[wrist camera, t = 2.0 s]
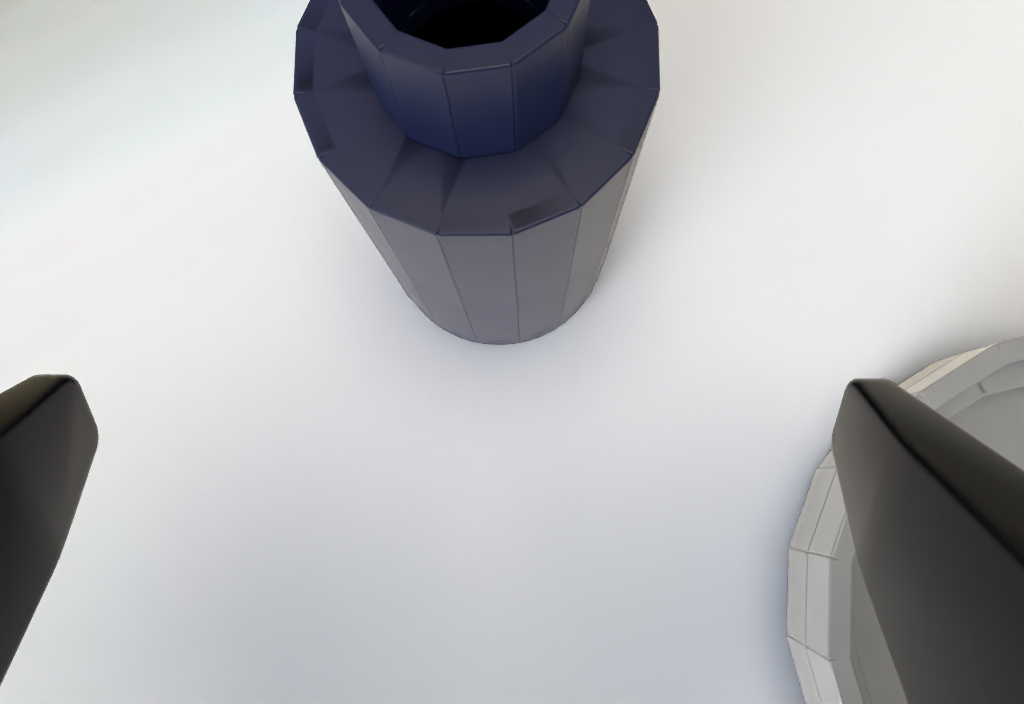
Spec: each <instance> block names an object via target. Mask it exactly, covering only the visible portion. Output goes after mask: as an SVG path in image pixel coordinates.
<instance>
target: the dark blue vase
mask: <svg viewBox="0 0 1024 704" xmlns="http://www.w3.org/2000/svg"><path fill="white" fill-rule="evenodd" d="M659 92H660V68H659V35H658V25H657V21H656V19H655V17H654V15H653V13H652V11H651V9H650V7H649V5H648V2H647V0H310V2H309V4H308V6H307V8H306V10H305V12H304V14H303V16H302V18H301V20H300V22H299V24H298V27H297V31H296V47H295V69H294V91H293V94H294V100H295V102H296V105H297V107H298V110H299V112H300V115H301V117H302V120H303V122H304V125H305V127H306V130H307V132H308V135H309V138H310V140H311V143H312V145H313V148H314V150H315V153H316V155H317V158H318V159H319V161H320V162H321V164H322V165H323V167H324V168H325V170H326V171H327V173H328V174H329V176H330V177H331V179H332V180H333V182H334V184H335V185H336V187H337V188H338V190H339V191H340V193H341V194H342V196H343V197H344V199H345V200H346V202H347V203H348V205H349V206H350V208H351V209H352V211H353V213H354V214H355V216H356V217H357V219H358V220H359V222H360V223H361V225H362V226H363V228H364V229H365V231H366V232H367V234H368V235H369V237H370V238H371V240H372V242H373V243H374V245H375V246H376V248H377V249H378V251H379V252H380V254H381V255H382V257H383V258H384V260H385V261H386V263H387V264H388V266H389V267H390V269H391V271H392V272H393V274H394V275H395V277H396V278H397V280H398V281H399V283H400V284H401V286H402V287H403V289H404V290H405V292H406V293H407V295H408V296H409V297H410V298H411V299H412V300H413V301H414V302H415V303H416V305H417V306H418V307H419V308H420V309H421V311H422V312H423V313H424V314H425V315H426V316H427V317H428V318H430V319H431V320H432V321H433V322H434V323H435V324H437V325H438V326H440V327H441V328H443V329H444V330H446V331H448V332H450V333H452V334H454V335H456V336H458V337H461V338H464V339H467V340H470V341H473V342H478V343H484V344H496V345H503V344H515V343H520V342H525V341H529V340H531V339H534V338H537V337H540V336H542V335H544V334H546V333H548V332H550V331H552V330H554V329H555V328H557V327H558V326H560V325H561V324H563V323H564V322H566V321H567V320H568V319H569V318H570V317H571V316H572V315H574V314H575V312H576V311H577V310H578V309H579V308H580V307H581V306H582V305H583V303H584V302H585V300H586V299H587V297H588V296H589V295H590V293H591V292H592V289H593V287H594V285H595V283H596V281H597V278H598V275H599V272H600V270H601V267H602V265H603V262H604V260H605V258H606V255H607V252H608V249H609V246H610V243H611V240H612V236H613V233H614V230H615V227H616V224H617V221H618V218H619V215H620V212H621V209H622V206H623V203H624V200H625V197H626V194H627V191H628V188H629V185H630V182H631V179H632V176H633V173H634V170H635V167H636V164H637V161H638V158H639V155H640V152H641V149H642V146H643V143H644V140H645V137H646V134H647V131H648V127H649V124H650V121H651V118H652V115H653V112H654V109H655V106H656V103H657V100H658V97H659Z"/></svg>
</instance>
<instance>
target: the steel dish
mask: <svg viewBox="0 0 1024 704" xmlns="http://www.w3.org/2000/svg"><path fill="white" fill-rule="evenodd" d="M898 386H900V387H901V388H903V389H904V390H906V391H907V392H909V393H910V394H912V395H913V396H915V397H916V398H917V399H919V400H920V401H922V402H923V403H925V404H926V405H928V406H929V407H931V408H932V409H934V410H935V411H937V412H938V413H940V414H941V415H943V416H944V417H946V418H947V419H949V420H950V421H952V422H953V423H955V424H956V425H958V426H959V427H961V428H962V429H963V430H965V431H966V432H968V433H969V434H971V435H972V436H974V437H975V438H977V439H978V440H980V441H981V442H983V443H984V444H986V445H987V446H989V447H990V448H992V449H993V450H995V451H996V452H998V453H999V454H1001V455H1002V456H1004V457H1005V458H1007V459H1008V460H1009V461H1011V462H1012V463H1014V464H1015V465H1017V466H1018V467H1020V468H1021V469H1023V470H1024V336H1023V337H1019V338H1014V339H1010V340H1006V341H1002V342H998V343H995V344H991V345H988V346H985V347H981V348H978V349H975V350H971V351H968V352H965V353H962V354H958V355H955V356H952V357H948V358H945V359H942V360H939V361H937V362H934V363H932V364H930V365H929V366H927V367H926V368H924V369H922V370H921V371H919V372H918V373H916V374H915V375H913V376H911V377H910V378H908V379H907V380H905V381H904V382H902V383H900V384H899V385H898ZM789 547H790V549H789V561H788V601H787V634H788V636H787V640H788V643H789V647H790V650H791V654H792V657H793V661H794V665H795V668H796V672H797V675H798V679H799V682H800V686H801V689H802V693H803V696H804V700H805V703H806V704H907V701H906V698H905V695H904V693H903V690H902V687H901V684H900V681H899V679H898V676H897V673H896V670H895V667H894V665H893V662H892V659H891V656H890V654H889V651H888V648H887V645H886V642H885V640H884V637H883V634H882V631H881V628H880V626H879V623H878V620H877V617H876V614H875V612H874V609H873V606H872V603H871V600H870V598H869V595H868V592H867V589H866V587H865V584H864V580H863V577H862V574H861V571H860V568H859V565H858V561H857V557H856V553H855V549H854V545H853V540H852V536H851V532H850V527H849V523H848V518H847V514H846V510H845V505H844V501H843V496H842V492H841V487H840V483H839V479H838V474H837V470H836V465H835V461H834V457H833V452H832V450H831V451H830V452H829V454H828V455H827V456H826V458H825V459H824V460H823V461H822V463H821V464H820V465H819V469H816V471H815V474H814V477H813V480H812V482H811V485H810V488H809V491H808V494H807V496H806V499H805V502H804V505H803V508H802V511H801V513H800V516H799V519H798V522H797V525H796V527H795V530H794V533H793V536H792V539H791V542H790V544H789Z"/></svg>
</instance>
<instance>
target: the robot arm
mask: <svg viewBox="0 0 1024 704" xmlns="http://www.w3.org/2000/svg"><path fill="white" fill-rule="evenodd" d="M97 446H98V429H97V425H96V423H95V420H94V418H93V415H92V413H91V411H90V408H89V406H88V403H87V401H86V398H85V396H84V394H83V391H82V389H81V386H80V384H79V383H78V381H77V380H76V379H75V378H74V377H72V376H70V375H51V374H42V375H35V376H32V377H30V378H28V379H26V380H25V381H23V382H21V383H19V384H17V385H15V386H14V387H12V388H10V389H8V390H6V391H4V392H3V393H1V394H0V685H1V683H2V681H3V679H4V677H5V675H6V672H7V670H8V668H9V666H10V664H11V662H12V660H13V657H14V655H15V653H16V651H17V649H18V647H19V645H20V643H21V640H22V638H23V636H24V634H25V632H26V630H27V628H28V625H29V623H30V621H31V619H32V617H33V615H34V613H35V610H36V608H37V606H38V604H39V602H40V600H41V598H42V595H43V593H44V591H45V589H46V587H47V585H48V583H49V580H50V578H51V576H52V574H53V571H54V569H55V567H56V565H57V562H58V560H59V558H60V555H61V552H62V550H63V547H64V544H65V542H66V539H67V536H68V533H69V530H70V527H71V524H72V521H73V518H74V515H75V512H76V509H77V506H78V503H79V500H80V497H81V494H82V491H83V488H84V485H85V482H86V479H87V476H88V473H89V470H90V467H91V465H92V462H93V459H94V456H95V453H96V450H97ZM832 452H833V457H834V461H835V465H836V470H837V474H838V479H839V483H840V487H841V492H842V496H843V501H844V505H845V510H846V514H847V518H848V523H849V527H850V532H851V536H852V540H853V545H854V549H855V553H856V557H857V561H858V565H859V568H860V571H861V574H862V577H863V580H864V584H865V587H866V589H867V592H868V595H869V598H870V600H871V603H872V606H873V609H874V612H875V614H876V617H877V620H878V623H879V626H880V628H881V631H882V634H883V637H884V640H885V642H886V645H887V648H888V651H889V654H890V656H891V659H892V662H893V665H894V667H895V670H896V673H897V676H898V679H899V681H900V684H901V687H902V690H903V693H904V695H905V698H906V701H907V704H1024V470H1023V469H1021V468H1020V467H1018V466H1017V465H1015V464H1014V463H1012V462H1011V461H1009V460H1008V459H1007V458H1005V457H1004V456H1002V455H1001V454H999V453H998V452H996V451H995V450H993V449H992V448H990V447H989V446H987V445H986V444H984V443H983V442H981V441H980V440H978V439H977V438H975V437H974V436H972V435H971V434H969V433H968V432H966V431H965V430H963V429H962V428H961V427H959V426H958V425H956V424H955V423H953V422H952V421H950V420H949V419H947V418H946V417H944V416H943V415H941V414H940V413H938V412H937V411H935V410H934V409H932V408H931V407H929V406H928V405H926V404H925V403H923V402H922V401H920V400H919V399H917V398H916V397H915V396H913V395H912V394H910V393H909V392H907V391H906V390H904V389H903V388H901V387H900V386H898V385H897V384H895V383H894V382H892V381H890V380H888V379H854V380H852V381H850V382H849V384H848V385H847V387H846V389H845V392H844V396H843V399H842V402H841V406H840V409H839V413H838V416H837V419H836V423H835V426H834V429H833V434H832Z"/></svg>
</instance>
